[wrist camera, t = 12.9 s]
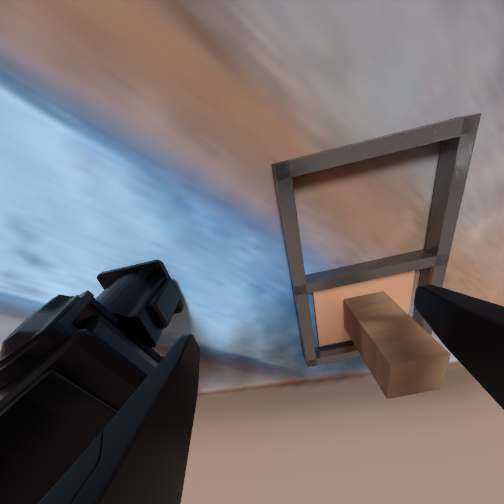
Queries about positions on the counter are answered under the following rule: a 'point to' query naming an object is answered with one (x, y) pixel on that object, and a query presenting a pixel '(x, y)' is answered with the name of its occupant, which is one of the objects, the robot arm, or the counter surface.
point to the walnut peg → (394, 345)
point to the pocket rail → (386, 269)
